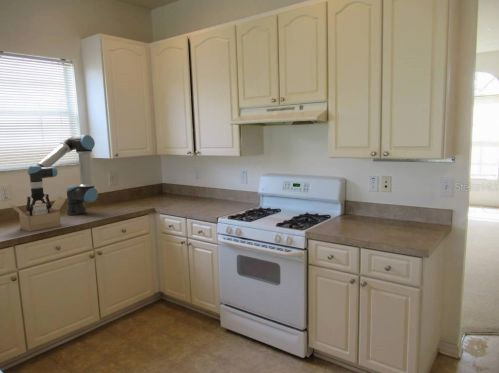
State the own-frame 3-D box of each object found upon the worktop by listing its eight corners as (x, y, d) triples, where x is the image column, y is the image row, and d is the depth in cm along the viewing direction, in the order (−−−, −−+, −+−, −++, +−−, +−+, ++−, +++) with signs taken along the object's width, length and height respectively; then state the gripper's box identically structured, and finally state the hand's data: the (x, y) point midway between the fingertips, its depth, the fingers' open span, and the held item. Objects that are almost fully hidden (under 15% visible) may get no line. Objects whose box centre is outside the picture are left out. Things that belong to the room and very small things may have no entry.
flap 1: (20, 213, 269) (8, 203, 263) (26, 215, 260) (15, 205, 254) (19, 213, 268) (8, 203, 263) (26, 216, 260) (14, 206, 254)
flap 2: (51, 208, 284) (58, 196, 288) (58, 210, 276) (66, 198, 279) (50, 208, 284) (58, 196, 287) (58, 210, 276) (65, 198, 279)
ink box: (45, 218, 278) (43, 202, 276) (48, 219, 275) (46, 203, 273) (32, 220, 271) (30, 204, 269) (35, 221, 268) (33, 205, 266)
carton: (51, 222, 287) (50, 208, 286) (61, 226, 276) (60, 211, 274) (20, 228, 272) (18, 213, 270) (29, 232, 260) (27, 217, 259)
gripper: (50, 185, 280) (53, 215, 283) (18, 188, 264) (21, 220, 267) (55, 186, 275) (57, 216, 278) (22, 189, 259) (25, 222, 262)
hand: (40, 218), depth 273 cm, fingers closed on ink box, 9 cm apart
